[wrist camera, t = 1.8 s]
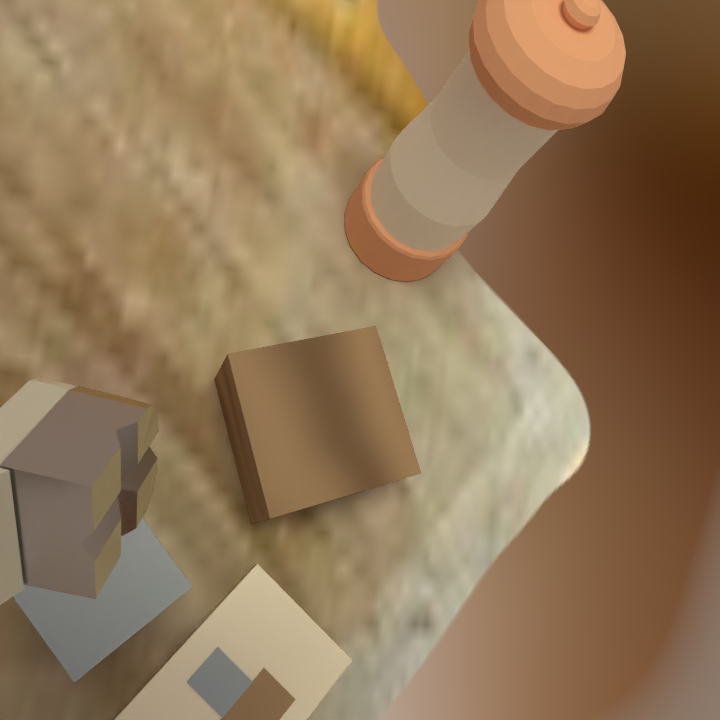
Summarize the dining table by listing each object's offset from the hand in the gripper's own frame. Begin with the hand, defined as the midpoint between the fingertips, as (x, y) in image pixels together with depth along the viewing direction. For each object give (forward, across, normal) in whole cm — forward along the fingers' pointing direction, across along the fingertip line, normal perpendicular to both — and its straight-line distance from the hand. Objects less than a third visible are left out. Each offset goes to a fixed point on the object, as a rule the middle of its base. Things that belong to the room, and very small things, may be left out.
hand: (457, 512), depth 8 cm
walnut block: (+22, +4, +17) cm, 28 cm away
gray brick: (+13, +11, +21) cm, 27 cm away
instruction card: (+11, +4, +25) cm, 28 cm away
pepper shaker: (+34, +1, +9) cm, 35 cm away
